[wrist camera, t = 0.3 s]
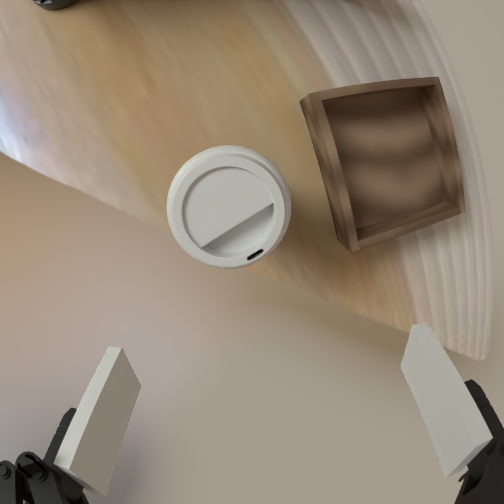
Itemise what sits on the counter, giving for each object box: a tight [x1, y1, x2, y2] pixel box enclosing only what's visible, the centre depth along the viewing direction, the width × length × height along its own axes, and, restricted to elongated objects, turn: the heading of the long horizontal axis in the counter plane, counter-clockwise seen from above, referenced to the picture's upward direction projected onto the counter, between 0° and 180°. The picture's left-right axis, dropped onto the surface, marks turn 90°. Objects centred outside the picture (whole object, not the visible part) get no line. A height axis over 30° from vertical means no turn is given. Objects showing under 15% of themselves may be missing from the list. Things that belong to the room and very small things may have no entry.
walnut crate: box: [300, 77, 466, 252], centre depth 32 cm, size 18×18×5 cm
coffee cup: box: [167, 145, 291, 269], centre depth 28 cm, size 10×10×15 cm
